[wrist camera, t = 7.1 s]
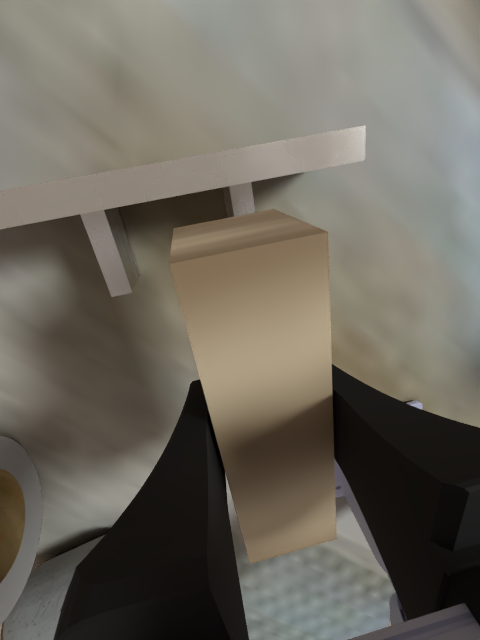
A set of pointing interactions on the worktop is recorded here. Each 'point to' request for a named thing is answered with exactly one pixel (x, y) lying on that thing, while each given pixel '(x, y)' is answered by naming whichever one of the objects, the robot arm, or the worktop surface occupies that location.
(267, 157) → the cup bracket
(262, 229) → the maple rail
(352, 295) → the worktop surface
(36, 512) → the toilet paper
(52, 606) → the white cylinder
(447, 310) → the worktop surface
